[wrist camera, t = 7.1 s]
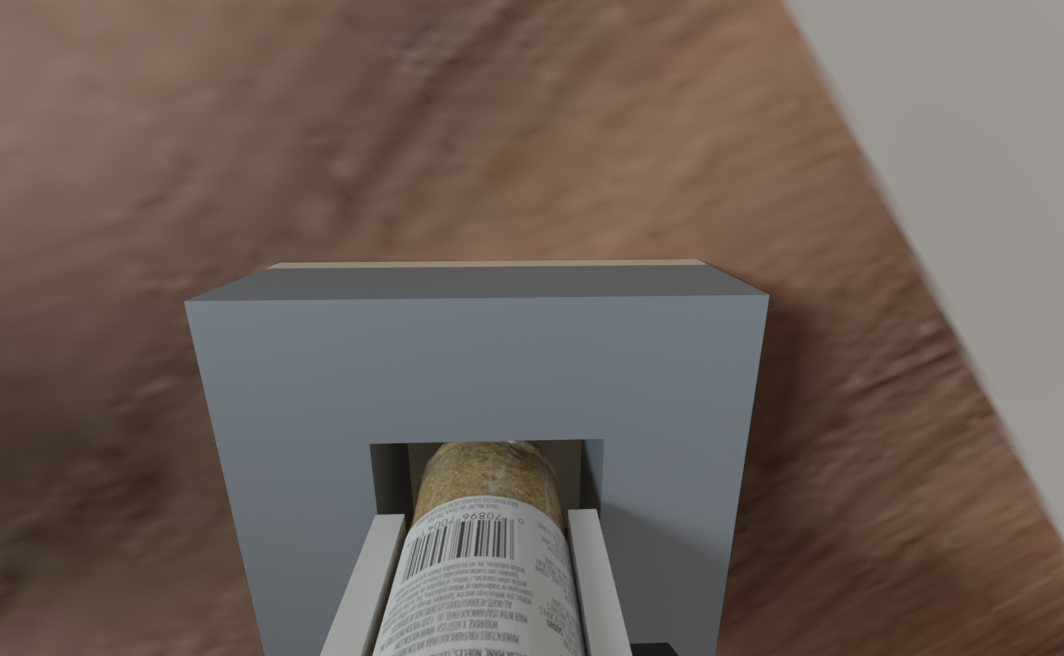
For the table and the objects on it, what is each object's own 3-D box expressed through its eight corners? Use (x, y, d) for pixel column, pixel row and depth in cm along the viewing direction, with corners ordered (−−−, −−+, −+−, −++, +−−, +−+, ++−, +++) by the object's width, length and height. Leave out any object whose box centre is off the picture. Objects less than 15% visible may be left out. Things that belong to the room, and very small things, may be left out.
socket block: (333, 593, 21) (279, 721, 16) (279, 262, 16) (184, 301, 12) (663, 583, 21) (707, 704, 16) (696, 259, 17) (769, 294, 12)
